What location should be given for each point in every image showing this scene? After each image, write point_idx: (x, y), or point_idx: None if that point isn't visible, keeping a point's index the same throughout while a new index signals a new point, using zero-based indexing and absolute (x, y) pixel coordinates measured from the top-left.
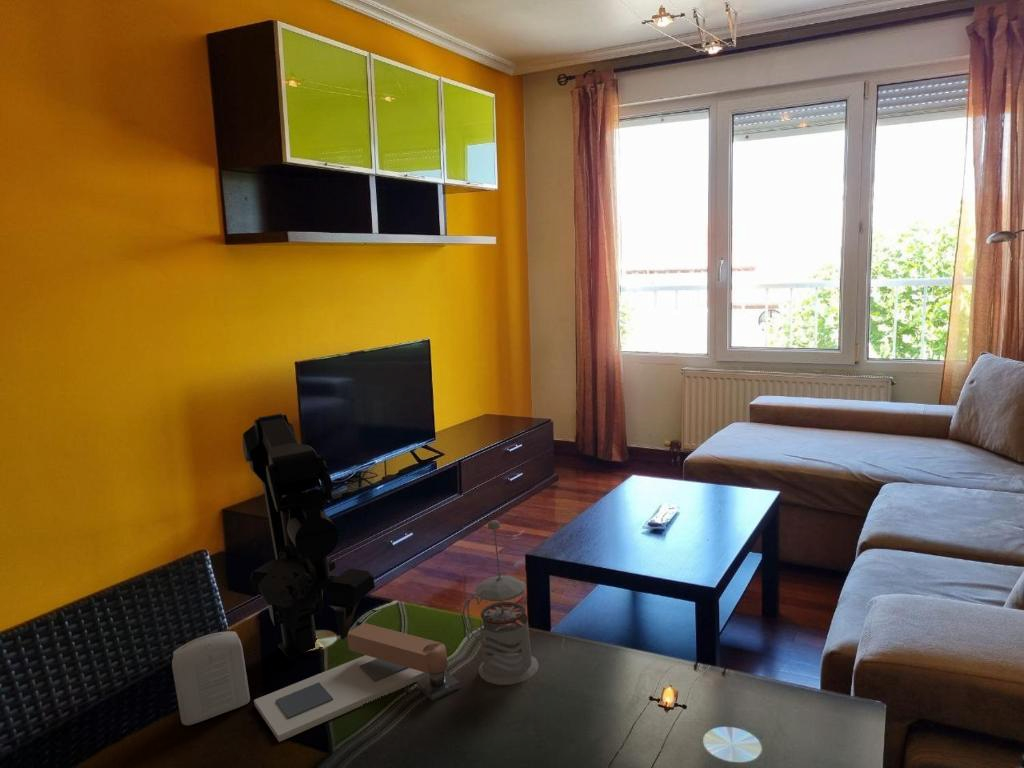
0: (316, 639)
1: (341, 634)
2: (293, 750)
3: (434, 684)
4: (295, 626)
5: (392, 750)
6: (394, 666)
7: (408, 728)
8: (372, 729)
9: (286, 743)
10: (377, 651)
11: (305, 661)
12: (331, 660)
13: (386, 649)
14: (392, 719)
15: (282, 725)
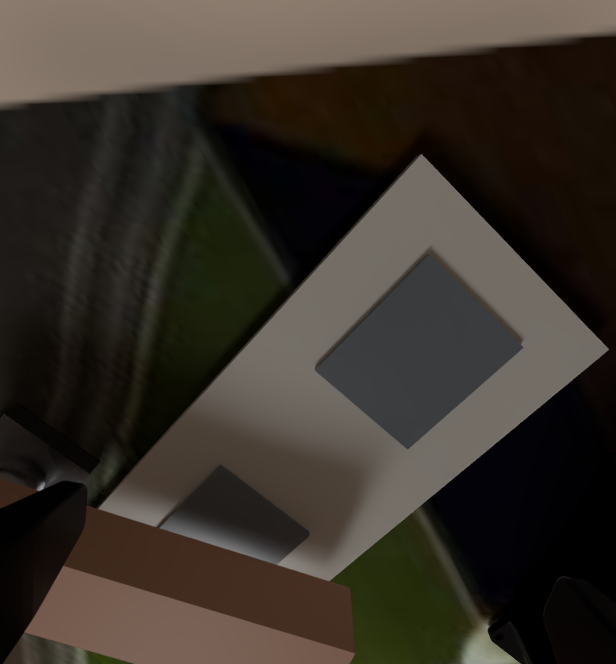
0: (521, 654)
1: (27, 504)
2: (341, 117)
3: (16, 458)
4: (560, 621)
5: (3, 154)
6: (192, 536)
7: (16, 270)
8: (127, 255)
9: (385, 153)
10: (208, 569)
11: (516, 563)
12: (432, 570)
13: (154, 571)
14: (91, 309)
15: (433, 216)
